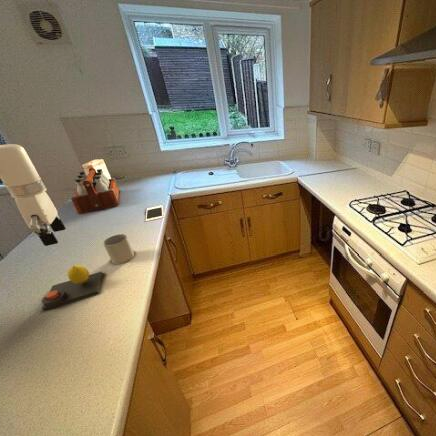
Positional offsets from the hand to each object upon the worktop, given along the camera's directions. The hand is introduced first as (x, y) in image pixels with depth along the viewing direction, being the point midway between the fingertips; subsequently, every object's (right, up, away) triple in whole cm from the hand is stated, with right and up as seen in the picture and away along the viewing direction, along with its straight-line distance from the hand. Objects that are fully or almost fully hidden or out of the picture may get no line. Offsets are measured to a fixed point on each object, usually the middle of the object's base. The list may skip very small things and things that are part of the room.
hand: (56, 237), depth 79 cm
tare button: (-3, -21, +2) cm, 21 cm away
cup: (+5, -12, +25) cm, 28 cm away
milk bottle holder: (-50, +17, +81) cm, 97 cm away
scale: (-1, -21, +8) cm, 22 cm away
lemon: (+1, -18, +10) cm, 21 cm away
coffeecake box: (-69, +31, +108) cm, 132 cm away
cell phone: (-3, +9, +62) cm, 63 cm away
